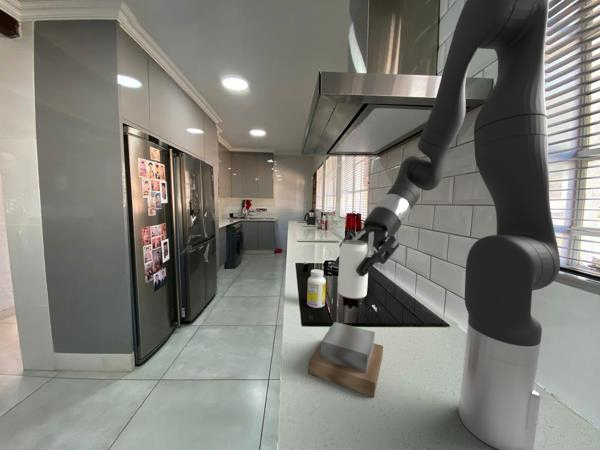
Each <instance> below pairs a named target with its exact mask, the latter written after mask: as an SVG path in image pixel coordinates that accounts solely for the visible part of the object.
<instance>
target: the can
mask: <svg viewBox="0 0 600 450" xmlns="http://www.w3.org/2000/svg"><path fill="white" fill-rule="evenodd" d="M341 242H342V245H341V247H339V255H338V257H339V268H338V276H337V277H338V278H337V279H338V280H337V292H338V294H339V295H340V296H341V297H344V298H346V299H351V300H361V299H363V298H365V297H366V296H367V293H368V283H369V282H368V281H369V280H368V279H369V272H368V273H367V274H366V275H364V276H363V277H362V276H359V274H358V273H357V272H356V269H357V268H358V266H359V265H360V263H361V262H362V261H363V260H364V258H365V257H367V254H368V247H367V246H368V245H367V244H368V243H367V242H365V241H358V240H343V239H342V241H341Z"/></svg>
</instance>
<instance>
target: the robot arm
mask: <svg viewBox="0 0 600 450" xmlns="http://www.w3.org/2000/svg"><path fill="white" fill-rule="evenodd" d="M549 4H550V0H466V1H465V3H464V5H463V7H462V10H461V12H460V14H459V17H458V19H457V22H456V25H455V28H454V32H453V35H452V38H451V41H450V45H449V49H448V53H447V55H446V59H445V63H444V67H443V70H442V75H441V78H440V81H439V86H438V89H437V93H436V96H435V100H434V102H433V106H432V108H431V110H430V114H429V116H428V119H427V121H426V123H425V124H424V125H425V126H424V128H423V130H422V133H421V135H420V137H419V140H418V142H417V149H418V150H419V151H420V152H421V153H422V154H423V155H425V156H426V157H428V158H429V160H430V161H429V160H428V159H424V158H423V157H420V156H416V155H411V156H408V157H406V158H405V159H404V160H402V162H401V164H400V167H399V170H398V173H397V176H396V178H395V181H394V183H393V184H392V186H391V188H390V189H389V190H388V191H387V192H386V194H385V195H384V196H383V197H382V198H381V199H380V200H379V202H378V203H377V204H376V205H375V207H373V209H372V210H371V212H370V213H369V214H368V215H367V217H366V218H365V219H364V222H363V227H362V229H359V230H358V231H354V229H350V230H349V231H348V232H347V234H346V235H345V237H344V239H342V241H343V240H358V241H365V242H367V243H368V244H367V245H368V246H367V247H368V254H367V257H365V258H364V260H363V261H362V262H361V263H360V265H359V266H358V268H357V269H356V272H357V273H358V274H359V276H362V277H363V276H364V275H366V274H367V273H368V274H369V271H370V270H371V269H372V267H373V266H374V265H376V264H377V263H378V264H379V263H380V265H384V264H386V262H387V261H388V260H389V259H390V257H392V255H393V254H394V253H395V252H396V250H397V249H398V248H399V247H400V243H399V241H398V240H397V238H396V237H395V235H396V234H397V232H398V231H399V229H401V227H402V225H403V224H404V222H405V221H406V220H407V219H408V216H409V213H410V212H411V210H412V209H413V208H414V206H415V205H416V204H417V202H418V200H419V199H420V197H421V190H423V191H426V192H428V191H432V190H434V189H436V188H437V187H438V186H439V185H440V183H441V181H442V179H443V175H444V170H445V164H446V160H447V156H448V153H449V150H450V148H451V146H452V144H453V142H454V141H455V139H456V137H457V136H458V133H459V132H460V129H461V128H462V126H463V123H464V120H465V117H466V112H467V111H466V109H467V108H466V107H467V106H466V105H467V104H466V103H467V101H466V80H467V75H468V71H469V68H470V65H471V63H472V61H473V58H474V57H475V54H476V53H477V51H478V49H482V50H483V49H484V50H494V51H495V53H496V57H497V77H496V78H497V79H496V82H495V85H494V86H493V89H492V90H491V92H490V93H489V95H488V96H487V98H486V100H485V101H484V103H483V105H482V107H481V108H480V109H479V112H478V113H477V116H476V118H475V120H474V125H473V142H474V143H473V144H474V146H473V147H474V158H475V159H474V160H475V164H476V167H477V170H478V172H479V174H480V176H481V179H482V181H483V183H484V185H485V187H486V188H487V191H488V192H489V195H490V197H491V199H492V201H493V204H494V209H495V217H496V234H492V235H487V236H484V237H481V238H479V239H478V240H477V241H475V242H474V243H473V245H472V246H471V247H470V249H469V251H468V252H467V257H466V262H465V274H464V276H465V277H464V281H465V282H464V305H465V309H466V311H467V314H468V315H467V317H468V318H467V327H466V339H465V348H464V357H463V365H462V366H463V367H462V374H461V375H462V376H461V383H460V394H459V395H460V396H459V403H458V404H459V405H458V416H459V419H460V421H461V422H462V424H463V425H464V427H466V429H467V430H468V431H469V432H470V433H471V434H473V436H475V437H476V438H477V439H478V440H480V441H482V442H483V443H485V444H487V445H489V446H490V447H492V448H494V449H496V450H534V449H535V442H536V434H537V427H538V420H539V419H538V418H539V413H540V412H539V411H540V404H541V395H540V393H539V392H538V391H537V389H536V380H537V374H538V373H537V372H538V371H537V370H538V364H539V357H540V356H539V355H540V348H541V347H540V346H541V342H542V333H543V328H542V327H543V326H542V324H541V323H540V322H539V321H538V319H536V318H534V317H533V316H532V297H533V291H536V290H537V291H538V290H542V289H544V288H546V287H548V286H550V285H551V284H553V282H554V281H555V280H556V278H557V277H558V275H559V273H560V270H561V269H560V268H561V259H560V251H559V246H558V242H557V236H556V233H555V227H554V222H553V221H554V220H553V216H552V211H551V201H550V171H549V169H550V167H549V135H548V115H547V106H546V88H545V87H546V86H545V85H546V81H545V80H546V78H545V70H546V69H545V55H546V54H545V51H546V41H547V30H548V19H549ZM420 189H421V190H420ZM342 241H341V242H340V244H339V246H338V247H339V248H340V247H341V245H342ZM334 264H335V265H336V267H338V269H339V256H338V257H337V258H336V259H335V262H334Z"/></svg>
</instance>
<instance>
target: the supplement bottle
mask: <svg viewBox="0 0 600 450" xmlns="http://www.w3.org/2000/svg"><path fill="white" fill-rule="evenodd" d="M326 282H327V281H326V278H325V277H324V270H322V269H318V268H317V269H315V268H314V269H311V270H310V276H309V277H308V279H307V292H306V293H307V294H306V295H307V296H306V304H307V305H308V306H309V307H311V308H314V309H315V308H316V309H319V308H323V307H324V306H325V304H326V285H327V284H326Z"/></svg>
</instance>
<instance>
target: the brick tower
mask: <svg viewBox="0 0 600 450" xmlns="http://www.w3.org/2000/svg"><path fill="white" fill-rule="evenodd" d="M375 333H376V331H373V330H369V329H365V328H361V327H357V326H352V325H349V324H345V323H342V322H336V321H334V322H333V324H332V325H331V327H330V328H329V329H328V331H327V332H326V333H325V335H324V336H323V337H322V339H321V341H320V343H319V344H318V346H317V348H316V349H315V350H314V352H313V354H312V355H311V356H310V357H309V359H308V365H307V366H308V367H307V374H309V375H311V376H314V377H316V378H319V379H322V380H325V381H328V382H331V383H333V384H336V385H339V386H342V387H345V388H347V389H350V390H352V391H355V392H357V393H361V394H364V395H366V396H369V397H372V398H374V397H375V395H376V389H377V386H378V379H379V375H380V372H381V371H380V370H381V365H382V360H383V355H384V354H383V352H384V345H381V344H378V343H375Z"/></svg>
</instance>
